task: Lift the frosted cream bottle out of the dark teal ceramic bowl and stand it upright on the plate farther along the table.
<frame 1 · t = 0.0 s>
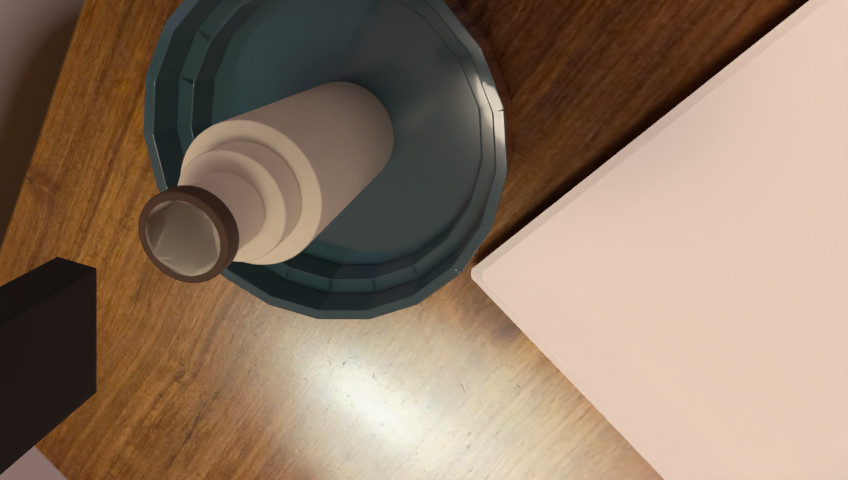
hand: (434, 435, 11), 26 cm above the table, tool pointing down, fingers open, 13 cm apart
bottle: (343, 134, 35), point 1 cm above the table, touching bowl
bowl: (346, 132, 36), on the table
plate: (800, 287, 34), on the table
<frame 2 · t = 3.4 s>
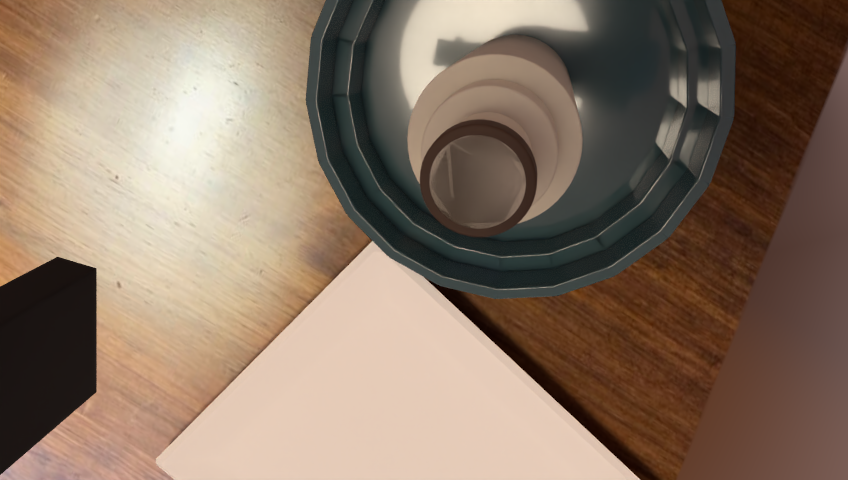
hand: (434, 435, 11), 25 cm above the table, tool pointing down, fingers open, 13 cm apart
bottle: (512, 95, 32), point 1 cm above the table, touching bowl
bowl: (513, 93, 32), on the table
plate: (403, 468, 43), on the table
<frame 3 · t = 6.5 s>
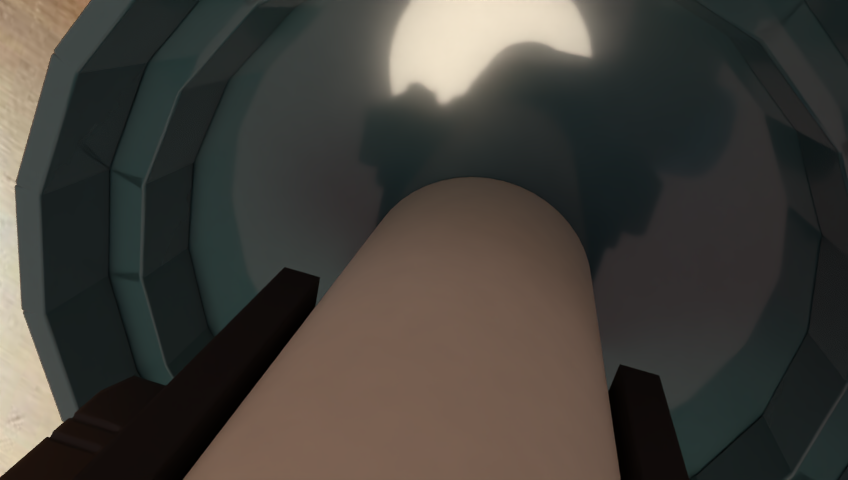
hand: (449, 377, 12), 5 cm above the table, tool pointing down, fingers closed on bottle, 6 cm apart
bottle: (474, 286, 16), point 1 cm above the table, touching bowl, gripper
bowl: (476, 276, 17), on the table
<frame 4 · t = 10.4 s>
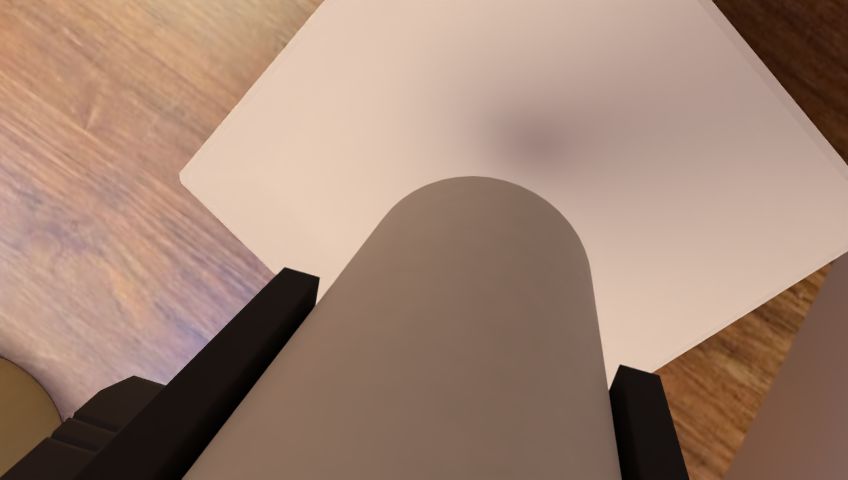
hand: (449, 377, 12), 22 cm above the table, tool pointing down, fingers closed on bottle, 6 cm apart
potted cactus: (2, 412, 48), on the table
bottle: (474, 285, 16), point 18 cm above the table, touching gripper
plate: (500, 186, 34), on the table
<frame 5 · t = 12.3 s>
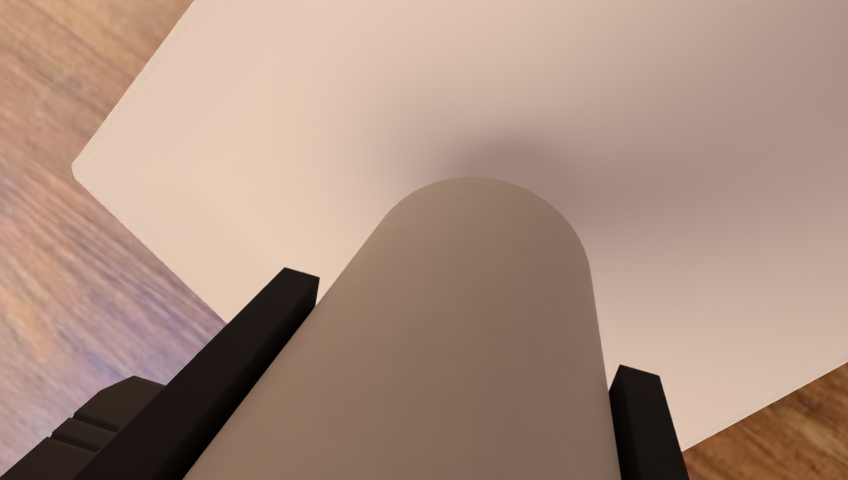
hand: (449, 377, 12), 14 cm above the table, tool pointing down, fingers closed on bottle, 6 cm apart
bottle: (474, 285, 16), point 9 cm above the table, touching gripper
plate: (502, 186, 25), on the table
when the fingers open (6 cm above the table, at t = 14.3 s): bottle stays where it is, resting on plate.
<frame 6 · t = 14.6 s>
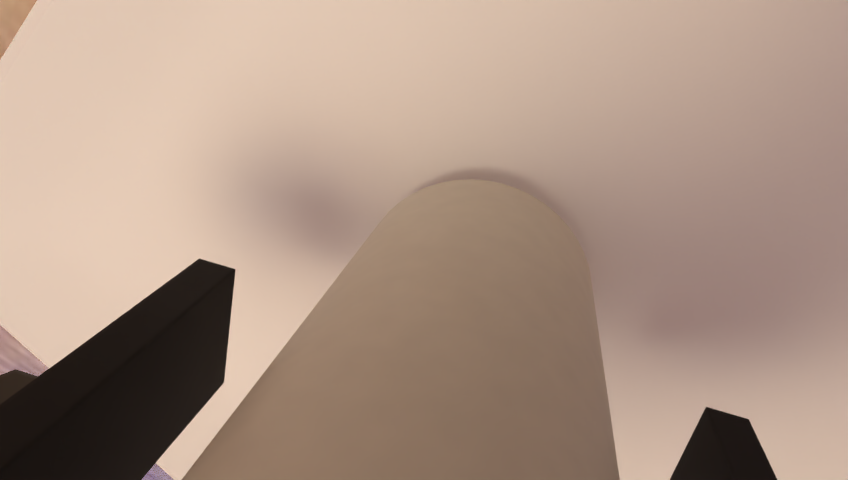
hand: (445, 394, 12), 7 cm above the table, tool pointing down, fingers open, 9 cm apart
bottle: (472, 289, 16), point 2 cm above the table, touching plate
plate: (482, 256, 18), on the table, touching bottle
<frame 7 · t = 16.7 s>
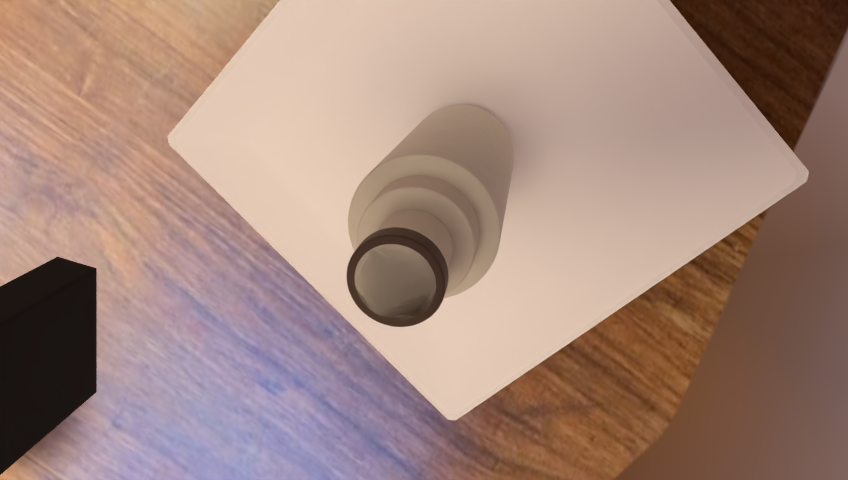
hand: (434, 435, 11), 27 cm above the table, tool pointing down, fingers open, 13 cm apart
bottle: (460, 157, 35), point 2 cm above the table, touching plate
plate: (465, 149, 37), on the table, touching bottle
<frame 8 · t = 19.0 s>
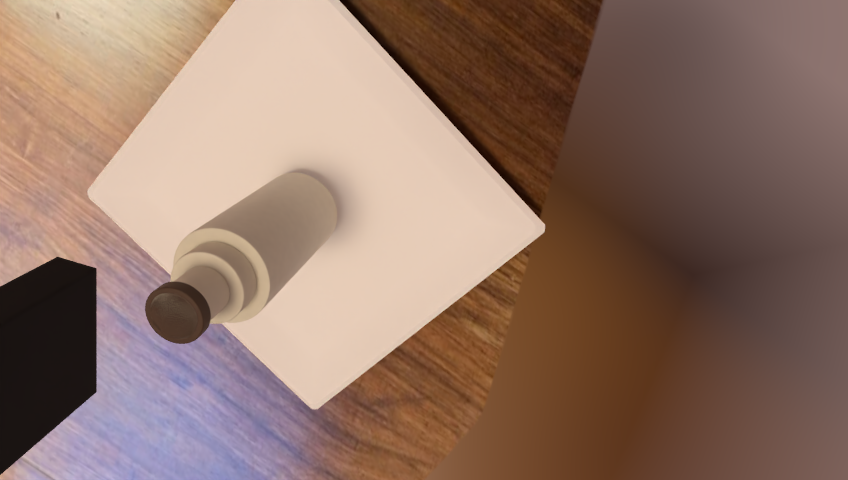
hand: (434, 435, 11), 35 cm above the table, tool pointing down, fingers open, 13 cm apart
bottle: (299, 211, 46), point 2 cm above the table, touching plate
plate: (310, 201, 48), on the table, touching bottle
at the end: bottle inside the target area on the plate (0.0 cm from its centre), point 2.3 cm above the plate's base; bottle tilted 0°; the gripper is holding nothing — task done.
